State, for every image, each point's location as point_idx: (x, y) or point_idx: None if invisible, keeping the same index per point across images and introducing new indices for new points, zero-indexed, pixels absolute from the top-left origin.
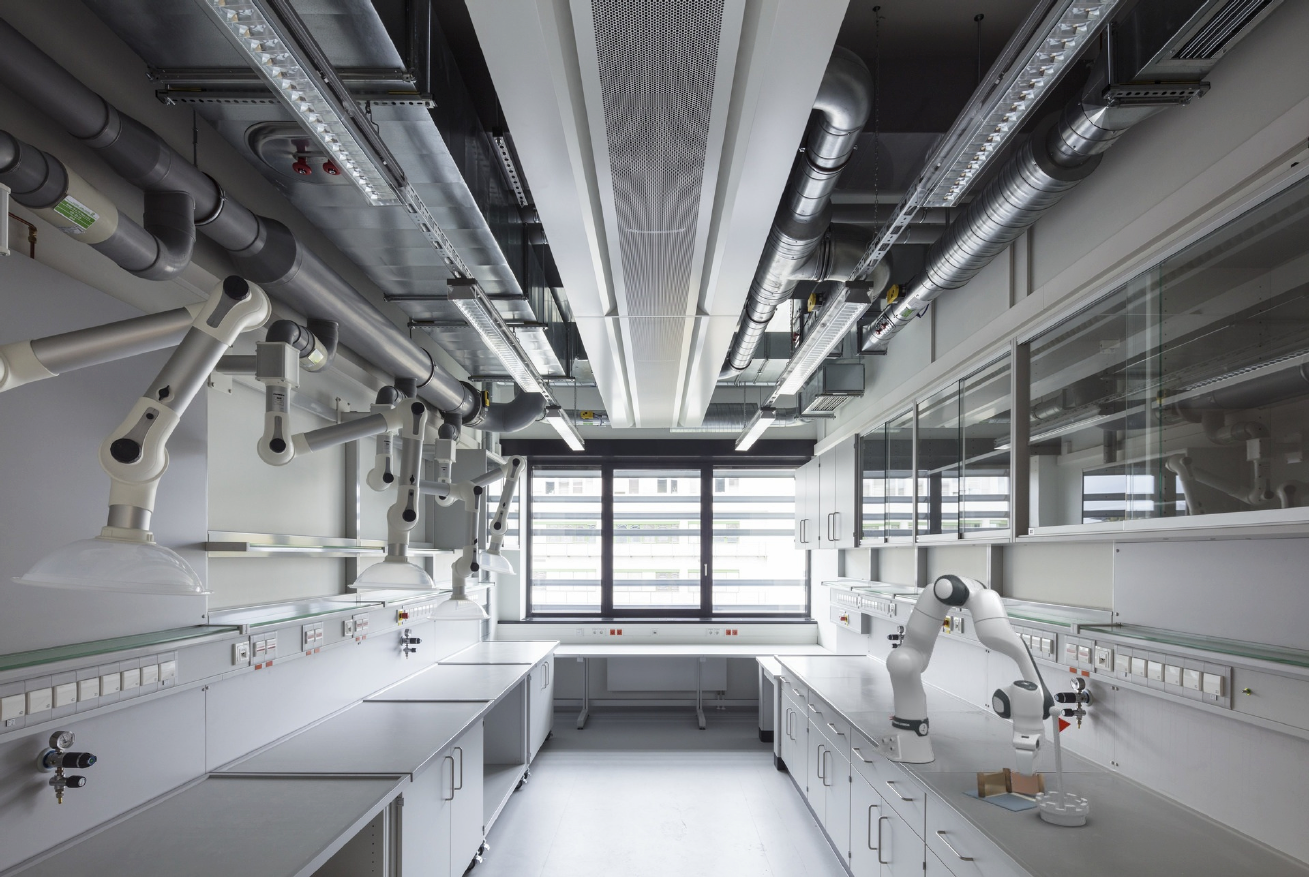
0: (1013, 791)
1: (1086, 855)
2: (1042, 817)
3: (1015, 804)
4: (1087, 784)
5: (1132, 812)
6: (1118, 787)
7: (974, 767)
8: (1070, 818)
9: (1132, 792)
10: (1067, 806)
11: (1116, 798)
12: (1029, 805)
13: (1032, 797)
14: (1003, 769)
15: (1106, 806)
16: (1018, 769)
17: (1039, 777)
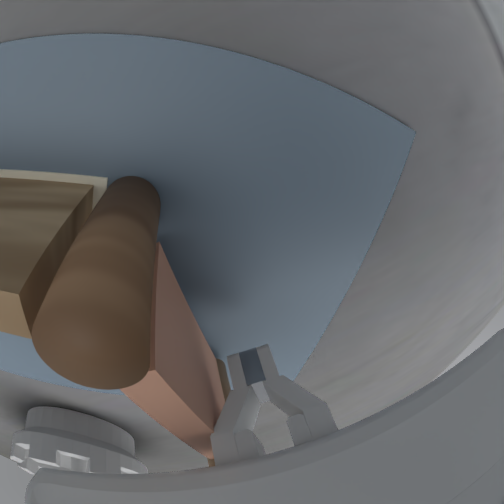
0: (175, 223)
1: (10, 453)
2: (27, 414)
3: (8, 341)
4: (462, 311)
5: (277, 448)
6: (451, 348)
7: None
8: (64, 458)
9: (424, 376)
10: None
11: (369, 399)
12: (56, 373)
13: None
14: (33, 333)
15: (284, 429)
16: (28, 497)
17: (207, 458)
